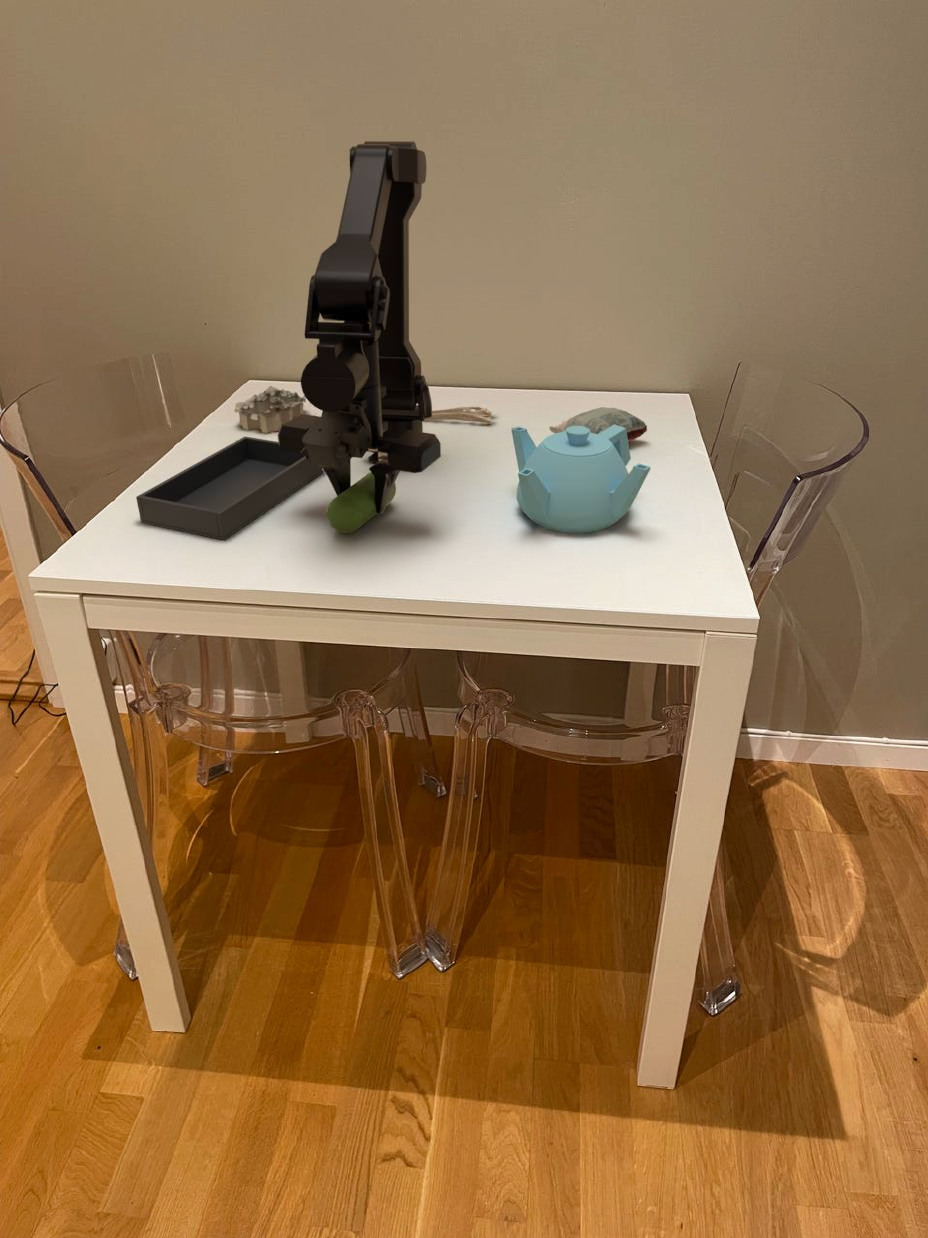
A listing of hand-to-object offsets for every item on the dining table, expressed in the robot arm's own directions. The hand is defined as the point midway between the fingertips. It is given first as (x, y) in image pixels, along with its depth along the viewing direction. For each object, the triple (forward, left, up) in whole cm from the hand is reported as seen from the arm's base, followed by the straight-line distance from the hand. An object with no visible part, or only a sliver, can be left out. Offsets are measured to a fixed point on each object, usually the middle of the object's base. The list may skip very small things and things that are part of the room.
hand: (362, 509), depth 114 cm
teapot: (-23, -12, -2) cm, 26 cm away
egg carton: (+30, -26, -2) cm, 40 cm away
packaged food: (-19, -36, -2) cm, 41 cm away
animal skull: (+7, -36, -2) cm, 37 cm away
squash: (0, 0, -1) cm, 1 cm away
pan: (+18, 0, -1) cm, 19 cm away
